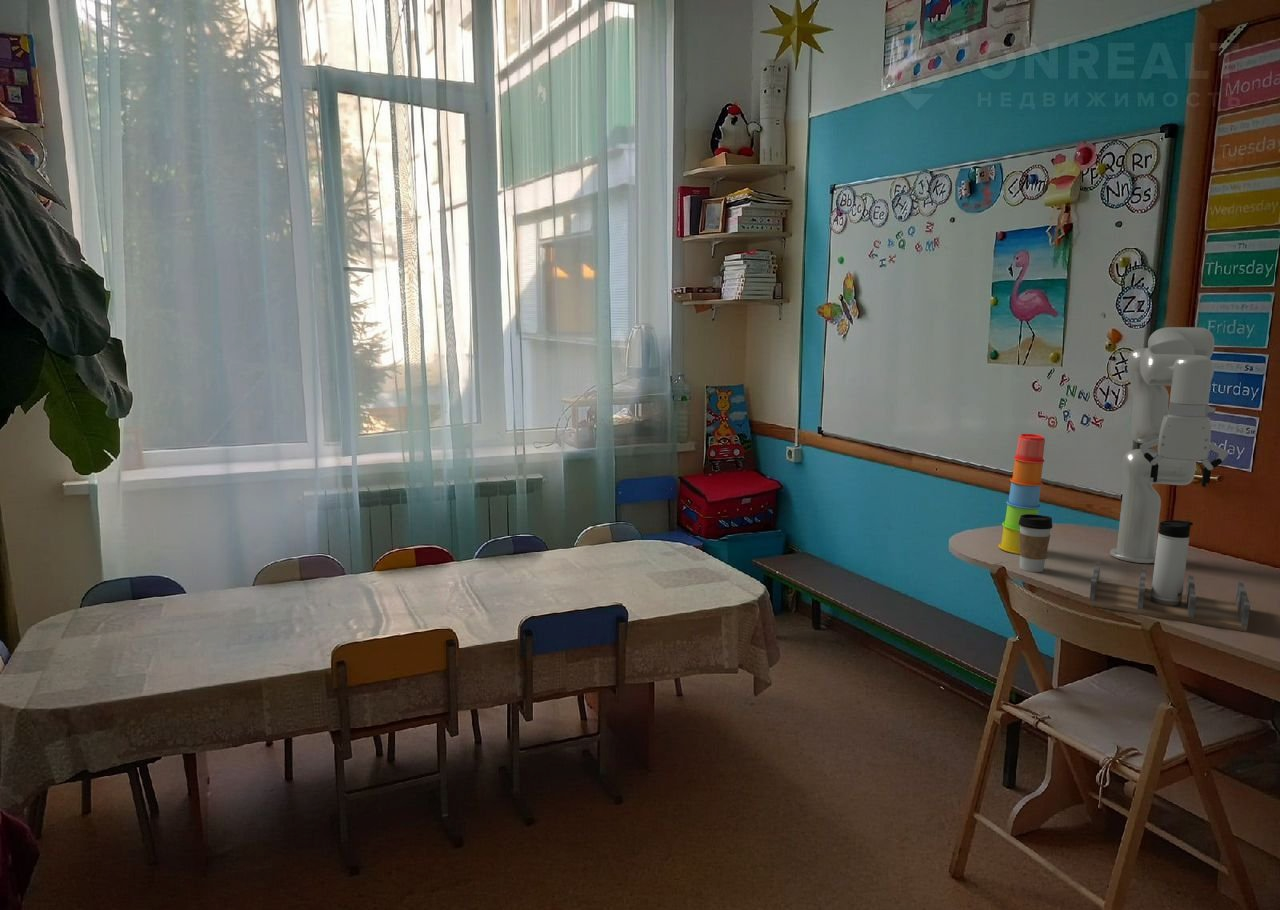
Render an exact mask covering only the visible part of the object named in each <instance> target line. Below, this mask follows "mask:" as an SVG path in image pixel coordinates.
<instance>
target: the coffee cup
mask: <svg viewBox="0 0 1280 910" xmlns="http://www.w3.org/2000/svg"><path fill="white" fill-rule="evenodd" d="M1019 525H1020V531H1019V548H1020V554H1019V569H1021V570H1022V571H1024V572H1025V571H1026V572H1030V573H1031V572H1032V573H1042V572H1043V571H1044V570H1045V569H1044V568H1045V563H1046V559H1047V553H1048V549H1049V543H1050V538H1051V529H1052V528H1053V518H1052V516H1049V515H1048V516H1047V515H1042V514H1038V515H1034V514H1024V515H1021V517H1020V520H1019Z"/></svg>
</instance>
